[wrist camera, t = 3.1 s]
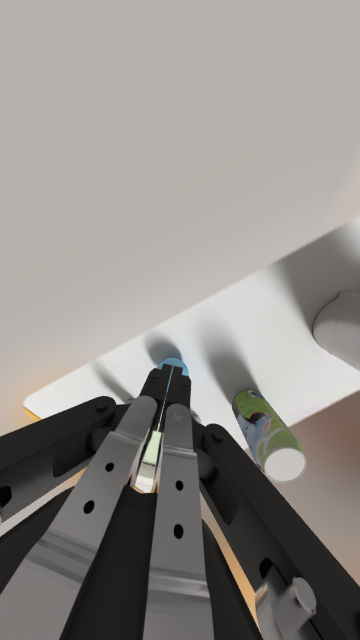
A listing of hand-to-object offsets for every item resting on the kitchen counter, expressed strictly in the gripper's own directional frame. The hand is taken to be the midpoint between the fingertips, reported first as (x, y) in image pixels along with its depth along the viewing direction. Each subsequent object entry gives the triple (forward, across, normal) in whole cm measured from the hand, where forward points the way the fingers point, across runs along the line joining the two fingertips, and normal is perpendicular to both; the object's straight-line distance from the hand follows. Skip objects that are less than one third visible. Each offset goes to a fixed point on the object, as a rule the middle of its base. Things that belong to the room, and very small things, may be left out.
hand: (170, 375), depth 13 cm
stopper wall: (+16, 0, +37) cm, 41 cm away
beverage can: (+16, -15, +12) cm, 25 cm away
